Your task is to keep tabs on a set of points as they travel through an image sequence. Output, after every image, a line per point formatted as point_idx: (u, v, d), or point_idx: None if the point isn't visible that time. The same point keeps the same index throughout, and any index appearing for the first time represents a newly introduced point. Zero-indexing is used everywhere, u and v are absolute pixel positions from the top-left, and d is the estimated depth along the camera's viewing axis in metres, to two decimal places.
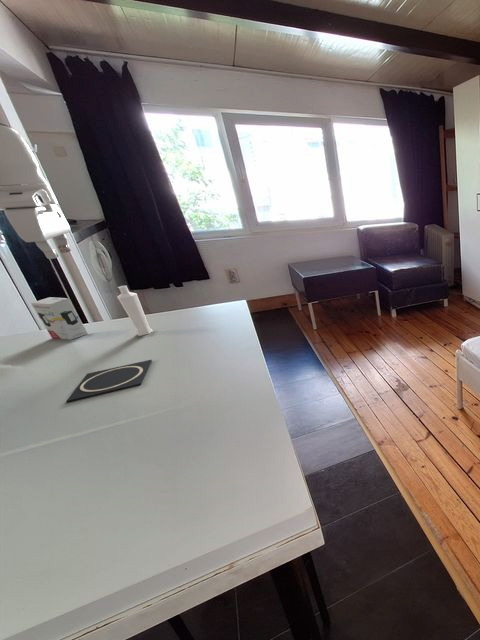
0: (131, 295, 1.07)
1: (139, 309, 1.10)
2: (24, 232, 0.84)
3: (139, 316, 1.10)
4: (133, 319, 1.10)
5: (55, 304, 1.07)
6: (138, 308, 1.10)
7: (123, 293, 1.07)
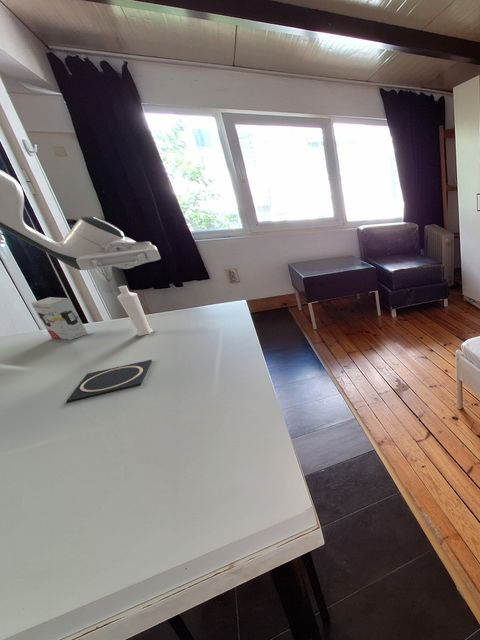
0: (131, 295, 1.07)
1: (139, 309, 1.10)
2: None
3: (139, 316, 1.10)
4: (133, 319, 1.10)
5: (55, 304, 1.07)
6: (138, 308, 1.10)
7: (123, 293, 1.07)
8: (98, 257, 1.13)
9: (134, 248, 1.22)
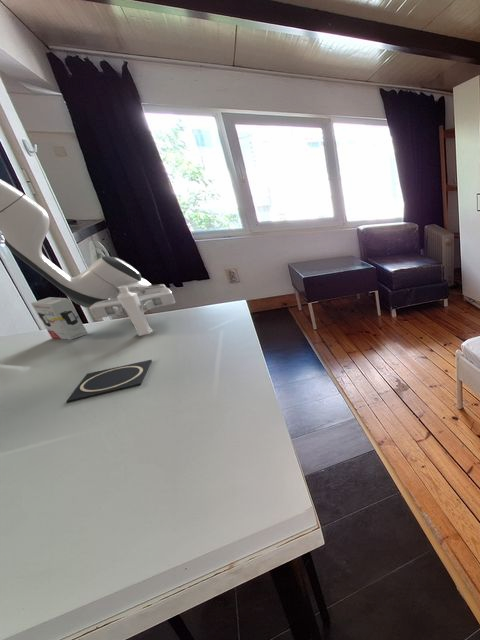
0: (131, 295, 1.07)
1: (139, 309, 1.10)
2: (172, 295, 1.19)
3: (139, 316, 1.10)
4: (133, 319, 1.09)
5: (55, 304, 1.07)
6: (138, 308, 1.09)
7: (123, 293, 1.07)
8: (112, 304, 1.10)
9: (148, 292, 1.18)
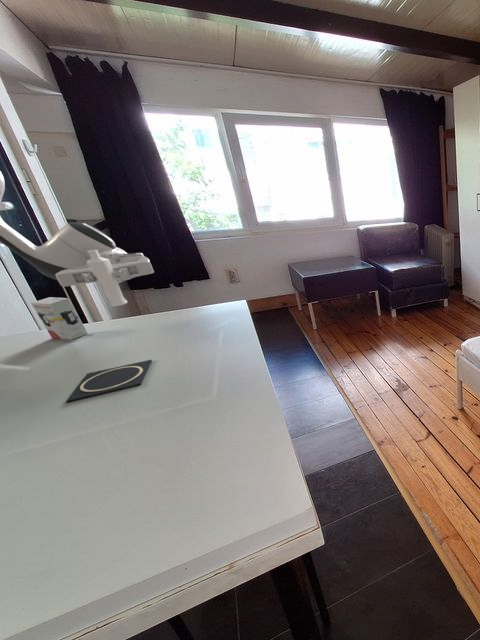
0: (102, 260, 0.97)
1: (111, 276, 0.99)
2: (150, 264, 1.08)
3: (111, 285, 0.99)
4: (105, 288, 0.99)
5: (55, 304, 1.07)
6: (110, 275, 0.99)
7: (93, 258, 0.96)
8: (81, 271, 0.99)
9: (124, 260, 1.07)
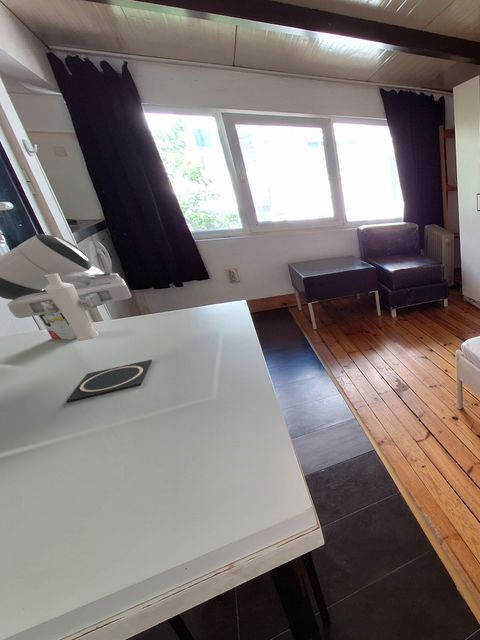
0: (64, 286, 0.79)
1: (77, 305, 0.81)
2: (127, 287, 0.91)
3: (77, 316, 0.82)
4: (69, 319, 0.81)
5: None
6: (75, 304, 0.81)
7: (53, 284, 0.78)
8: (40, 300, 0.81)
9: (94, 283, 0.89)
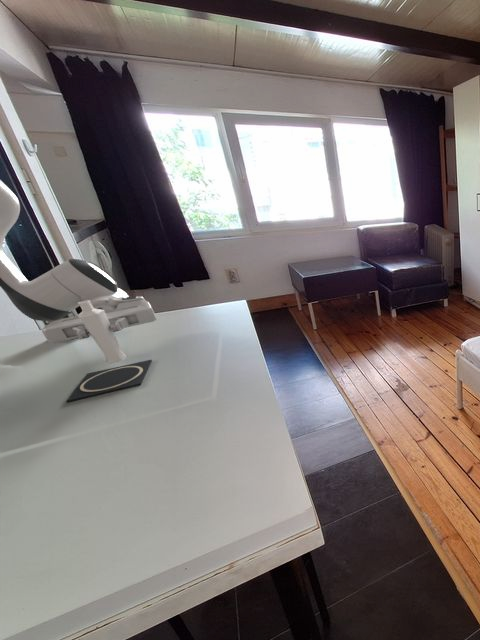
0: (96, 313, 0.82)
1: (107, 330, 0.85)
2: (152, 310, 0.94)
3: (107, 340, 0.85)
4: (100, 343, 0.85)
5: None
6: (106, 329, 0.85)
7: (85, 310, 0.82)
8: (72, 325, 0.85)
9: (122, 307, 0.93)
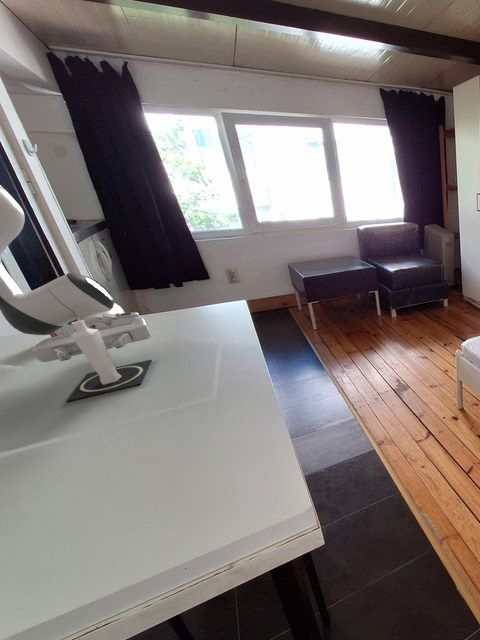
0: (90, 333, 0.81)
1: (101, 350, 0.83)
2: (147, 327, 0.92)
3: (101, 360, 0.83)
4: (94, 364, 0.83)
5: None
6: (100, 349, 0.83)
7: (79, 331, 0.80)
8: (64, 344, 0.82)
9: (115, 324, 0.91)
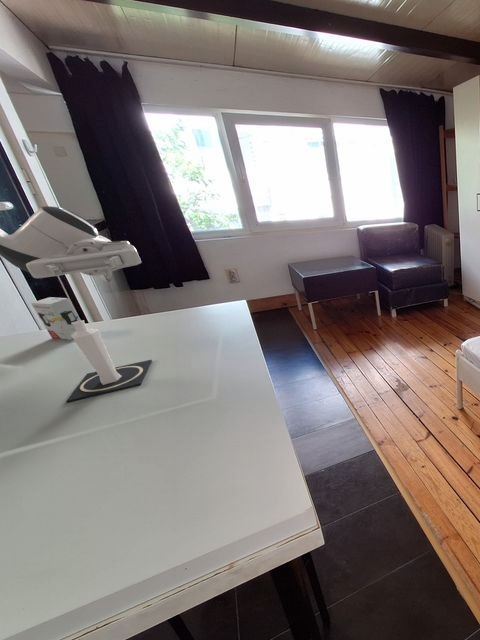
0: (90, 333, 0.81)
1: (101, 350, 0.83)
2: (137, 253, 0.95)
3: (101, 360, 0.83)
4: (94, 364, 0.83)
5: (55, 304, 1.07)
6: (100, 349, 0.83)
7: (79, 331, 0.80)
8: (56, 261, 0.86)
9: (107, 249, 0.94)
